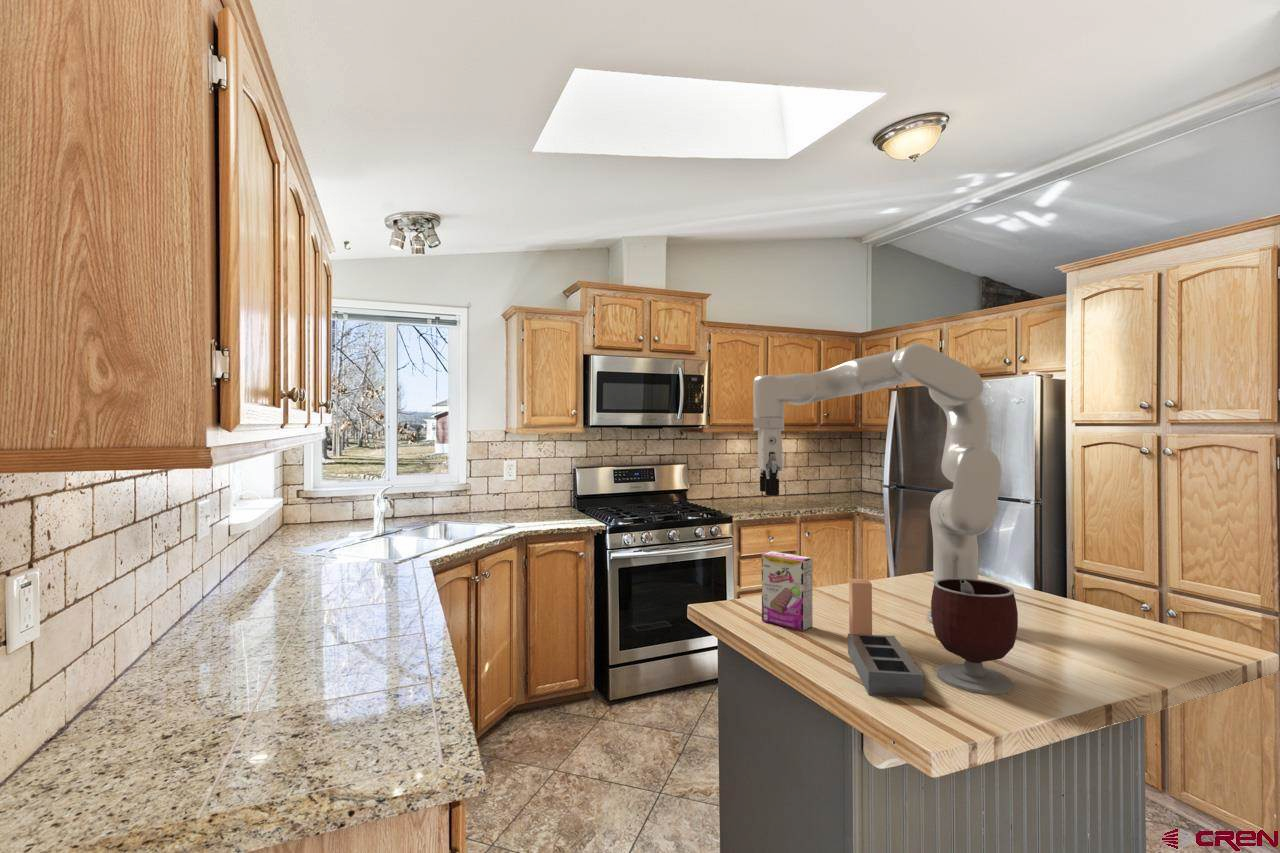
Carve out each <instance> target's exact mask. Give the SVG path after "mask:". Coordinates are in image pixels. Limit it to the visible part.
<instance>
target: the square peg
mask: <svg viewBox="0 0 1280 853" xmlns="http://www.w3.org/2000/svg"><path fill="white" fill-rule="evenodd" d="M872 586H873V585H872V582H871V581H870V580H869V579H868V578H848V605H849V606H848V615H849V616H848V618H849V619H848V623H849V624H848V625H849V631H848V632H849V633H848V634H866V635H873V587H872Z"/></svg>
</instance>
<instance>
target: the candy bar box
mask: <svg viewBox="0 0 1280 853" xmlns="http://www.w3.org/2000/svg"><path fill="white" fill-rule="evenodd" d="M761 621H762V622H765V623H768V622H769V623H768V624H772V623H773V625H776V624H778V625H777V626H780V625H782V626H781V627H784V626H786V627H785V628H788V627H789V629H792V628H793V630H796V629H797V630H796V631H800V630H801V632H805V631H807V630H808V629H810V628H812V627H813V558H812V557H808V556H804V555H797V554H793V553H787V552H780V551H773V550H772V551H766V552H764V553H762V554H761ZM806 629H807V630H806ZM804 630H805V631H804Z"/></svg>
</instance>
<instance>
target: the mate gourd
mask: <svg viewBox="0 0 1280 853" xmlns="http://www.w3.org/2000/svg"><path fill="white" fill-rule="evenodd" d="M932 589H933V590H932V594H931V600H930V611H931V617H932V622H931V623H932V628H933V631H934V635H935V637H936V638H937V640H938V642H940V644H941V645H942V647H943V648H944V649H945V650H946V651H947V652H950V653H951V654H953V655H956V656H957V657H960V658H962V659H964V660H965V661H964V663H947V664H943V665H939V666H938V667H937V669H936V670H935V671H936V678H938V679H939V680H940V681H941V682H942V683H944V684H945V685H947V686H949V687H952V688H955V689H958V690H961V691H965V692H969V693H975V694H979V693H980V694H979V695H990V694H992V695H1004V694H1008V693H1010V692H1012V691H1011V690H1013V689H1014V681H1013V680H1012V679H1011V678H1010V677H1009V676H1008V675H1006V674H1004V673H1002V672H1000V671H998V670H995V669H992V668H988V667H986V666H984V665H983V663H984V662H989V661H991V662H992V661H996V660H1001V659H1003V658H1004V657H1005V656H1006V655H1007V654H1009V652H1010V651H1011V650H1012V649H1013V648H1014V646H1015V643H1016V640H1017V633H1018V627H1019V624H1018V623H1019V616H1018V615H1019V614H1018V613H1019V612H1018V606H1017V601H1016V600H1017V599H1016V597H1015V596H1016V595H1015V593H1014V592H1015V590H1014V589H1013V588H1011V587H1009V586H1008V585H1004V584H1002V583H998V582H993V581H988V580H983V579H978V580H977V579H966V578H945V579H939V580H936V581H935V582H934V581H933V588H932ZM1009 691H1010V692H1009ZM1007 692H1008V693H1007ZM1003 693H1004V694H1003Z"/></svg>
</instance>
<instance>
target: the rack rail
mask: <svg viewBox="0 0 1280 853" xmlns="http://www.w3.org/2000/svg"><path fill="white" fill-rule="evenodd" d="M847 654H848V657H849V658H850V660H851V662H852V664H853V666H854V668H855V670H856V672H857V674H858V677H859V678H860V680H861V682H862V684H863V686H864V688H865V691H866V693H867V695H868V696H876V697H891V698H892V697H893V698H907V699H908V698H909V699H921V700H923V699H924V700H925V675H924V673H923V672H922V671H921V669H920V668H919V666H918V665H917V664H916V663H915V662H914V660H913V659H912V658H911V656H910V655H909V654H908V652H907V651H906V650H905V648H904V647H903V646H902V644H901V643H900V642H899V641H898V639H897V638H896V636H895V635H886V634H885V635H883V634H872V635H866V634H849V633H847Z"/></svg>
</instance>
